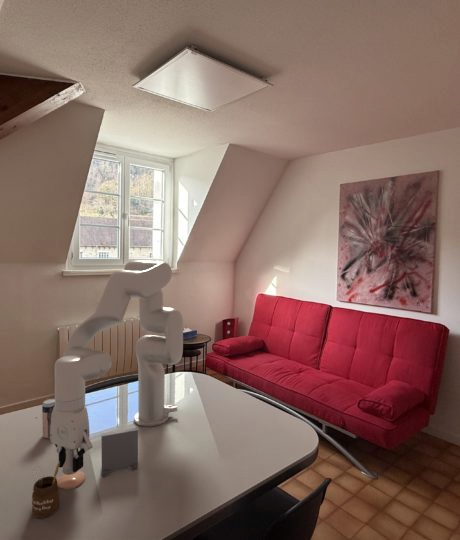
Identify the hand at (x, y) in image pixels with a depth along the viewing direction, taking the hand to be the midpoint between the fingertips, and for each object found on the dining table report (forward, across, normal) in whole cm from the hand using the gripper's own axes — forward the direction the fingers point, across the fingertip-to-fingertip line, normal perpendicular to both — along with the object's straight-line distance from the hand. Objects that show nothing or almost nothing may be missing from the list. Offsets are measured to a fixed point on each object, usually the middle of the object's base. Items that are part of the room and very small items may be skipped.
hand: (71, 466), depth 100 cm
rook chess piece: (+1, 0, 0) cm, 1 cm away
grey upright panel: (+4, +8, +10) cm, 14 cm away
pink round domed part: (+4, 0, 0) cm, 4 cm away
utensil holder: (+4, +3, -11) cm, 12 cm away
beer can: (+4, -25, +15) cm, 29 cm away
